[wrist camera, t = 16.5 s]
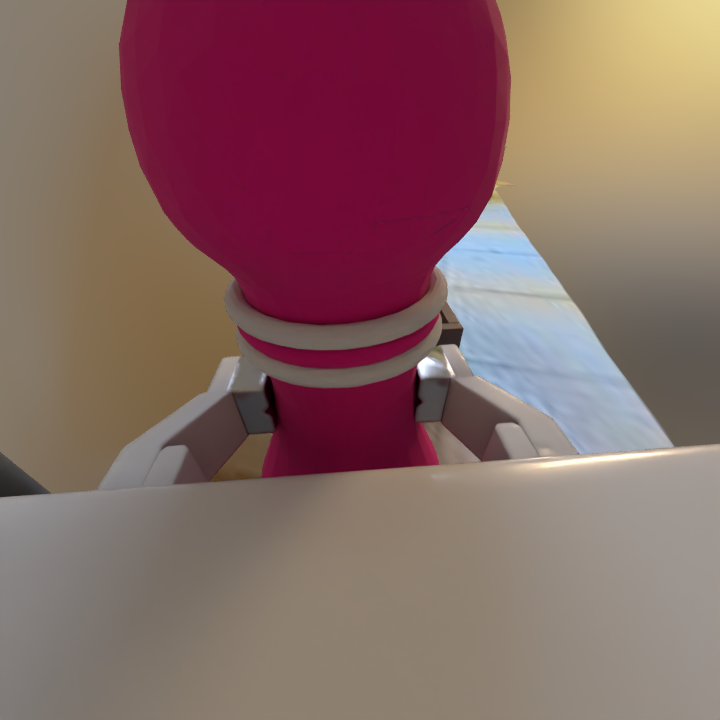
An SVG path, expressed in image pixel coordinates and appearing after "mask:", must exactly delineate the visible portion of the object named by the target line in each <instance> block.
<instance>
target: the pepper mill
mask: <svg viewBox="0 0 720 720" xmlns="http://www.w3.org/2000/svg"><path fill="white" fill-rule="evenodd" d="M119 52H120V53H119V54H120V74H121V90H122V96H123V100H124V106H125V111H126V117H127V122H128V128H129V132H130V135H131V138H132V141H133V145H134V148H135V151H136V154H137V157H138V161H139V164H140V167H141V169H142V171H143V173H144V175H145V176H146V178H147V180H148V182H149V184H150V186H151V188H152V190H153V192H154V194H155V196H156V198H157V199H158V202H159V204H160V206H161V208H162V210H163V211H164V213H165V214H166V215H167V216H168V218H169V219H170V221H171V222H172V223H173V224H174V226H175V227H176V228H177V229H178V230H179V231H180V232H181V233H182V235H183V236H184V237H185V238H186V239H187V240H188V241H189V242H190V243H191V244H193V245H194V246H195V247H196V248H197V249H199V250H200V251H201V252H203V253H204V254H206V255H207V256H208V257H210V258H211V259H213V260H214V261H215V262H217V263H218V264H219V265H221V266H222V267H224V268H225V269H226V270H228V271H229V273H231V274H232V275H233V276H234V278H233V279H232V281H231V282H230V284H229V285H228V287H227V289H226V292H225V298H224V301H225V307H226V311H227V313H228V315H229V316H230V318H231V319H232V320H233V322H234V323H235V324H236V325H237V329H236V339H237V344H238V346H239V348H240V350H241V352H242V354H243V356H244V357H245V358H246V359H247V360H248V361H249V362H250V363H251V364H252V365H253V366H254V367H255V368H256V369H258V370H260V371H261V372H263V373H264V374H266V375H268V376H270V378H271V380H272V385H273V390H274V396H275V402H276V408H277V421H278V426H277V431H276V432H274V433H273V436H272V439H271V442H270V445H269V448H268V451H267V454H266V457H265V461H264V464H263V470H262V478H269V477H282V476H296V475H309V474H323V473H336V472H349V471H363V470H376V469H390V468H403V467H417V466H430V465H439V461H438V457H437V454H436V451H435V449H434V446H433V444H432V442H431V440H430V438H429V436H428V434H427V432H426V430H425V428H424V426H423V424H422V423H416V422H415V411H414V406H415V397H416V371H417V366H418V363H420V362H421V361H422V360H424V359H425V358H426V357H427V356H428V355H429V354H430V352H431V351H432V350H433V349H434V348H435V346H436V344H437V342H438V340H439V339H440V336H441V332H442V318H441V315H440V311H441V309H442V308H443V306H444V305H445V302H446V300H447V294H448V290H447V281H446V279H445V276H444V275H443V274H442V272H441V271H440V269H438V268H437V267H436V266H435V265H436V264H437V263H438V262H439V260H440V259H441V258H442V257H443V256H444V255H445V254H446V253H447V252H448V251H449V250H450V249H451V248H452V247H453V246H454V245H456V244H457V243H458V242H459V241H460V240H461V239H462V238H463V237H464V236H465V234H466V233H467V232H468V231H469V230H470V229H471V228H472V227H473V225H474V224H475V223H476V222H477V220H478V218H479V217H480V215H481V213H482V212H483V210H484V208H485V206H486V205H487V203H488V201H489V200H490V198H491V196H492V193H493V190H494V187H495V184H496V181H497V177H498V174H499V171H500V167H501V164H502V161H503V156H504V150H505V144H506V138H507V132H508V126H509V120H510V88H511V76H510V66H509V58H508V50H507V42H506V35H505V31H504V26H503V22H502V18H501V14H500V12H499V9H498V6H497V3H496V0H127V5H126V10H125V16H124V21H123V26H122V32H121V37H120V43H119Z"/></svg>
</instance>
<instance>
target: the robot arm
mask: <svg viewBox="0 0 720 720" xmlns="http://www.w3.org/2000/svg"><path fill="white" fill-rule="evenodd" d="M414 411H415V422H416V423H423V422H441V423H442V424H443V425H444V426H445V427H446V428H447V429H448V430H449V431H450V432H451V433H452V434H453V435H454V436H456V437H457V438H458V439H459V440H460V441H461V442H462V443H463V444H464V445H465V446H466V447H467V448H468V449H469V450H470V451H471V452H472V453H473V454H474V455H476V456H477V457H478V458H479V459H480V460H481V462H470V463H457V464H443V465H430V466H417V467H403V468H390V469H376V470H363V471H349V472H336V473H323V474H309V475H296V476H282V477H269V478H255V479H242V480H229V481H215V482H209V481H210V480H211V479H212V478H213V476H214V475H215V474H216V473H217V472H218V471H219V470H220V468H221V467H222V466H223V465H224V464H225V463H226V461H227V460H228V459H229V458H230V457H231V456H232V455H233V453H234V452H235V451H236V450H237V449H238V448H239V446H240V445H241V444H242V443H243V442H244V441H245V440H246V438H247V437H248V435H252V434H262V433H273V432H276V431H277V426H278V421H277V408H276V402H275V396H274V390H273V385H272V380H271V378H270V376H268V375H266V374H264V373H263V372H261V371H260V370H258V369H256V368H255V367H254V366H253V365H252V364H251V363H250V362H249V361H248V360H247V359H246V358H245V357H244V356H235V357H225V358H223V359H222V360H221V363H220V365H219V367H218V369H217V371H216V373H215V375H214V378H213V380H212V382H211V384H210V386H209V388H208V390H207V392H206V393H201V394H199V395H198V396H196V397H195V398H194V399H192V400H191V401H189V402H188V403H186V404H185V405H184V406H182V407H181V408H179V409H178V410H177V411H175V412H174V413H172V414H171V415H170V416H168V417H167V418H165V419H164V420H162V421H161V422H159V423H158V424H157V425H155V426H154V427H152V428H151V429H149V430H148V431H147V432H145V433H144V434H143V435H141V436H140V437H138V438H137V439H135V440H134V441H132V442H131V443H130V444H128V445H127V446H125V447H124V448H123V449H122V451H121V452H120V454H119V455H118V457H117V459H116V460H115V462H114V463H113V465H112V466H111V468H110V469H109V471H108V472H107V474H106V476H105V477H104V479H103V480H102V482H101V484H100V485H99V487H98V488H97V490H95V491H83V492H82V491H81V492H68V493H55V494H41V495H28V496H14V497H1V498H0V720H720V444H713V445H700V446H687V447H686V446H685V447H672V448H659V449H645V450H632V451H618V452H605V453H592V454H579V453H578V452H577V451H576V449H575V448H574V447H573V445H572V444H571V442H570V441H569V440H568V438H567V437H566V436H565V434H564V433H563V432H562V430H561V429H560V428H559V426H558V425H557V424H556V422H555V421H554V420H553V419H552V418H551V417H549V416H547V415H545V414H544V413H542V412H540V411H539V410H537V409H535V408H533V407H532V406H530V405H528V404H526V403H525V402H523V401H521V400H519V399H518V398H516V397H514V396H513V395H511V394H509V393H507V392H506V391H504V390H502V389H500V388H499V387H497V386H495V385H494V384H492V383H490V382H488V381H487V380H485V379H483V378H481V377H480V376H474V375H473V373H472V371H471V369H470V368H469V366H468V364H467V362H466V361H465V359H464V357H463V355H462V354H461V352H460V350H459V348H458V347H457V345H455V344H448V345H439V346H435V348H434V349H433V350H432V351H431V352H430V354H429V355H428V356H427V357H426V358H425V359H424V360H422V361H421V362H420V363H418V366H417V371H416V397H415V406H414Z"/></svg>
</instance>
